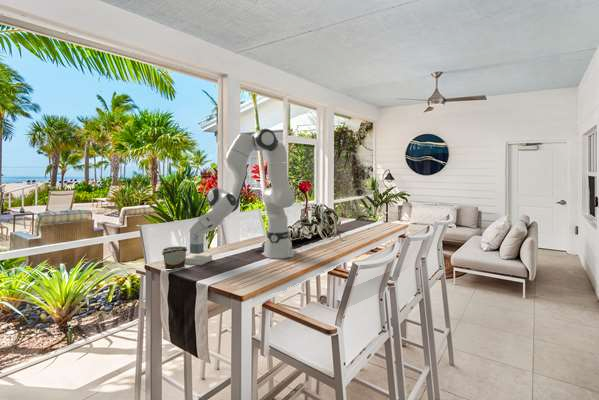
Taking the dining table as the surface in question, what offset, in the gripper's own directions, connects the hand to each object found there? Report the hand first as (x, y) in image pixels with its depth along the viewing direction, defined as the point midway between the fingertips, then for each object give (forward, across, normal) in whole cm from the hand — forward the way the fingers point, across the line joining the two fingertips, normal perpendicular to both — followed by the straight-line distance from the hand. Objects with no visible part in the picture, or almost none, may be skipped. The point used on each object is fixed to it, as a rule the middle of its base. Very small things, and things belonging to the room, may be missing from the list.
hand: (195, 236), depth 183 cm
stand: (+9, 0, +10) cm, 13 cm away
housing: (+6, 0, +6) cm, 8 cm away
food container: (+13, +14, +7) cm, 20 cm away
